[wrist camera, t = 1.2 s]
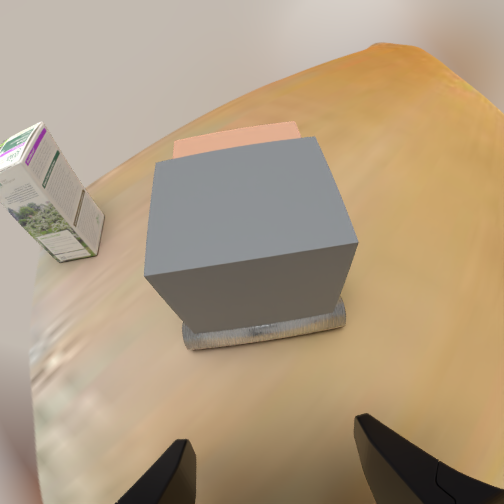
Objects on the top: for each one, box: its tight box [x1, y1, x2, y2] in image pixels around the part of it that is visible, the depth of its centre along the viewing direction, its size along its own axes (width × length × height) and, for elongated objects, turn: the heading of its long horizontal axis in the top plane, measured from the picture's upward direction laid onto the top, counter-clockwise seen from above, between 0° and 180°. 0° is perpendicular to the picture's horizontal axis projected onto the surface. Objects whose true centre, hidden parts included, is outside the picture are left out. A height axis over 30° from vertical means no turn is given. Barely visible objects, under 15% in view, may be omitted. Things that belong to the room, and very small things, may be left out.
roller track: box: [182, 296, 346, 350], centre depth 25 cm, size 13×12×2 cm
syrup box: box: [0, 121, 104, 263], centre depth 25 cm, size 6×6×14 cm
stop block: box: [173, 121, 302, 159], centre depth 30 cm, size 3×12×6 cm, turn 97°
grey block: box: [144, 137, 358, 334], centre depth 19 cm, size 8×10×9 cm
